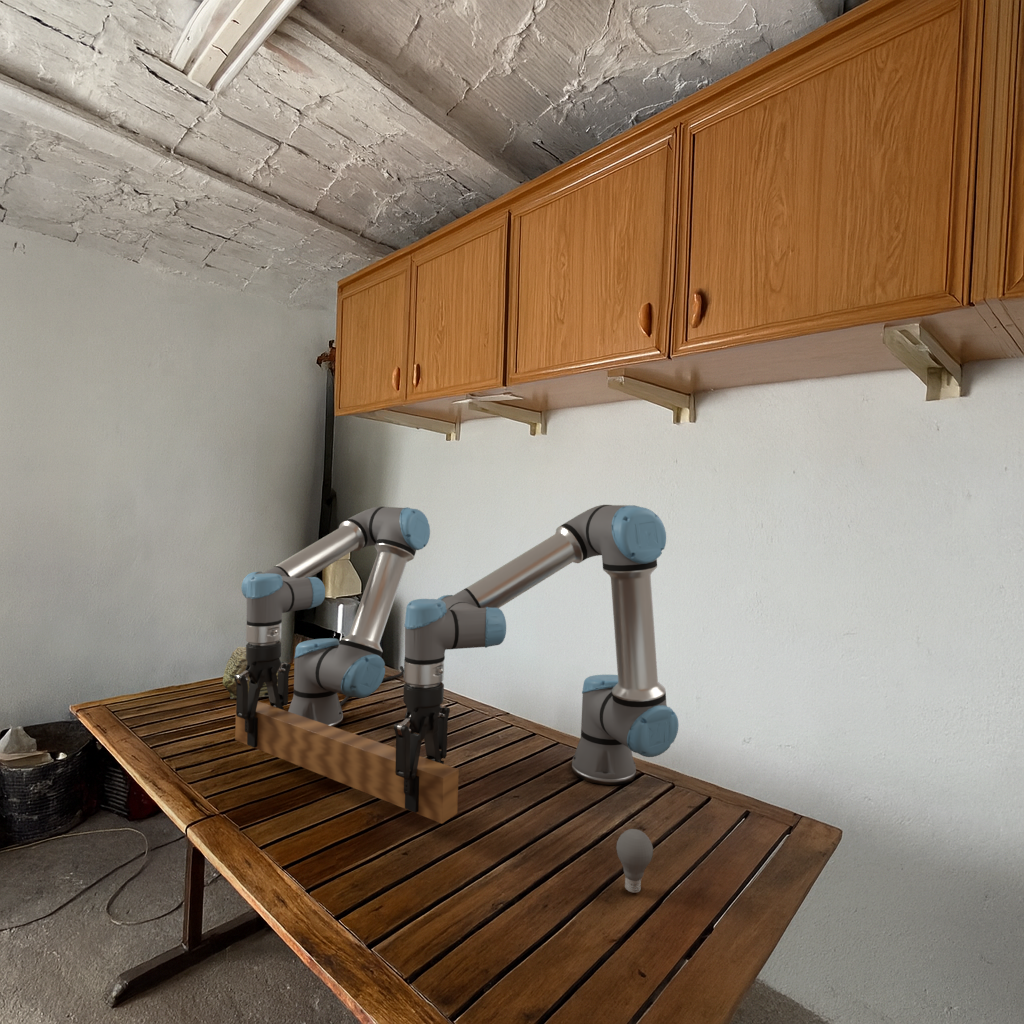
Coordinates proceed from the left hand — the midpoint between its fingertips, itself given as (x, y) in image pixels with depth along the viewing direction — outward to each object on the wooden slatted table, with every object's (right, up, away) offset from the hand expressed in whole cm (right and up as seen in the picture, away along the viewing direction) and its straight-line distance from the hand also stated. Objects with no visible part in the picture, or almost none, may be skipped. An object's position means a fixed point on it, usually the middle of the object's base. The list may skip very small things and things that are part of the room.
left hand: (262, 741), depth 146 cm
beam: (+20, -2, -13) cm, 24 cm away
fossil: (-23, -4, +52) cm, 57 cm away
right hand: (+40, -2, -26) cm, 48 cm away
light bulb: (+78, -10, -40) cm, 88 cm away
